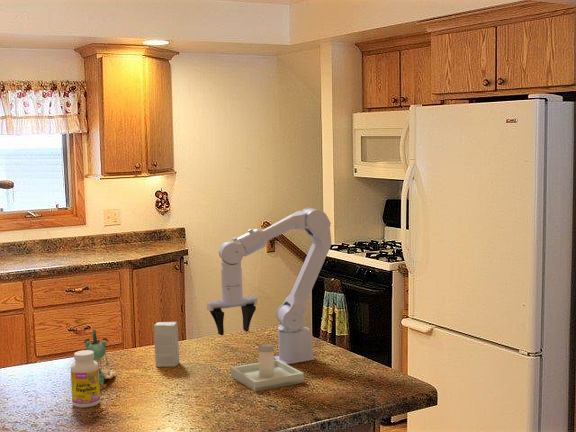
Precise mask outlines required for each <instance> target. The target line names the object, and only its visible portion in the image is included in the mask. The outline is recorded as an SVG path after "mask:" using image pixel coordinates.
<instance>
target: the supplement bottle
mask: <svg viewBox="0 0 576 432" xmlns="http://www.w3.org/2000/svg"><path fill="white" fill-rule="evenodd" d="M73 358H74V360H75V362H73V363H72V364H71V366H70V380H71V381H70V382H71V403H72V405H73V406H74V407H75V408H80V409H82V408H83V409H85V408H91V407H94V406H97V405H98V404H99V403H100V402H101V389H100V381H99V369H100V364H99V365H98V361H95V360H93V358H94V351H91V350H87V349H86V350H85V349H84V350H83V349H82V350H79V351H76V352H74V355H73Z"/></svg>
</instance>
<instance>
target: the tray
mask: <svg viewBox="0 0 576 432" xmlns="http://www.w3.org/2000/svg"><path fill="white" fill-rule="evenodd" d="M304 375H305V374H304V372H303V371H300V370H298V369H296V368H295V367H292V366H291V365H290V364H285V363H283V362H282V361H280V360H278V359H274V376H273V377H270V378H262V377H259V362H254V363H249V364H242V365H238V366H231V367H230V376H231V378H233V379H235V380H236V381H237V382H239V383H241V384H242V385H244V386H245V387H247V388H249V389H250V390H252V391H253V392H255V393H256V392H261V391H267V390H273V389H277V388H278V389H279V388H281V387H282V388H283V387H287V386H293V385H299V384H303V383H305V377H304Z"/></svg>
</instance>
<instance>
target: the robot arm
mask: <svg viewBox="0 0 576 432" xmlns="http://www.w3.org/2000/svg"><path fill="white" fill-rule="evenodd" d="M331 225H332V223H331V221H330V219H329V217H328V216H327V214H326V213H325V212H324V211H323V210H321V209H316V208H314V207H305V208H303V209H302V210H298V211H295V212H293V213H292V214H290V215H287V216H285V217H284V218H282V219H280V220H278V221H277V222H274V223H273V224H271V225H269V226H268V227H265V228H264V229H259V228H255V229H254V228H250V229H247V232H246V233H244V234H242V235H240V236H238V237H236V236H234V237H233V238H232V241H226V242H223V243H222V244H221V246H220V247H219V250H218V255H219V258H220V259H221V265H220V267H221V269H220V273H221V276H220V277H221V278H220V279H221V299H219V300H214V301H211V302H206V306H207V307H206V308H207V311H209V312H210V314H211V316H212V318H213V320H214V323H215V325H216V329H217V334H218V335H220V336H224V335H225V334H224V332H225V331H224V330H225V329H224V320H225V319H224V318H225V312H224V311H223V309H230V308H231V309H232V308H235V307H240V308H241V313H242V329H243V331H245V332H249V330H250V325H251V321H252V318H253V316H254V313H255V312H256V308H257V307H256V305H258V297H256V296H250V297H249V296H248V297H243V294H244V293H243V272H242V271H243V268H242V260H243V258H244V257H248V256H249V255H251V254H253V253H256V252H258V251H259V250H261V249H264V248H265V247H266V246H267V243H268V241H269V240H270V241H271V240H272V239H274V238H276V237H279V236H281V235H283V234H285V233H287V232H289V231H292V230H299V231H300V230H302V231H305V232H306V233H307V235H308V237H309V239H310V242H311V245H310V248H309V250H308V253H307V255H306V257H305V259H304V262H303V264H302V266H301V269H300V270H299V273H298V275H297V278H296V280H295V282H294V285H293V287H292V289H291V292H290V293H289V294H288V295H287V296H286V297H285V299H284V301H283V303H282V304H281V305H279V307H277V309H276V314H275V315H276V316H275V317H276V319H277V321H278V322H279V325H278V327H277V333H278V334H277V338H278V339H277V342H278V355H276V356H275V355H274V360H276V359H278V360H280V361H282V362H283V363H285V364H287V365H291V364H292V365H293V364H297V363H304V362H309V361H314V360H315V357H314V345H313V344H314V342H313V333H312V331H311V329H310V328H309V327H308V326H304V325H305V322H306V312H307V310H308V309H307V308H308V306H307V305H308V303H307V302H308V299H309V297H310V295H311V293H312V290H313V288H314V286H315V283H316V281H317V279H318V276H319V274H320V272H321V270H322V268H323V265H324V263H325V260H326V257H327V256H328V253H329V252H330V249H331V246H332V234H331Z"/></svg>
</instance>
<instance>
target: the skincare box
mask: <svg viewBox="0 0 576 432" xmlns="http://www.w3.org/2000/svg"><path fill="white" fill-rule="evenodd" d="M178 331H179V328H178V321H160V322H159V321H157V322H156V323H155V324H153V336H154V337H153V338H154V355H155V356H154V357H155V367H157V368H158V367H163V368H164V367H177V366H178V364H180V348H179V347H180V346H179V332H178Z"/></svg>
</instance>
